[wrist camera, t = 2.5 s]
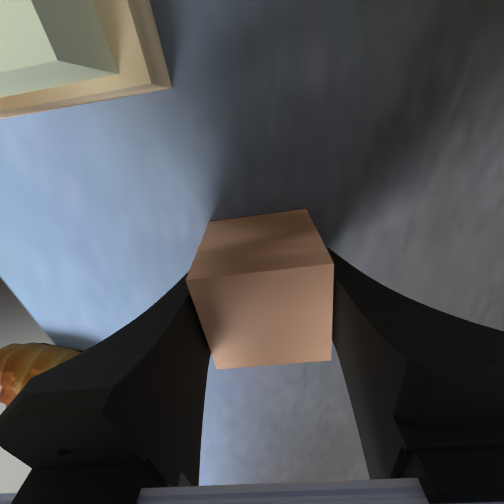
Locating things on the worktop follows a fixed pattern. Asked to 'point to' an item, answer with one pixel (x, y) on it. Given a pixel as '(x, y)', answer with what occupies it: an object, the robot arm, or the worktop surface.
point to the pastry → (27, 365)
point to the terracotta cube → (264, 290)
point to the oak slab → (125, 57)
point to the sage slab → (51, 45)
